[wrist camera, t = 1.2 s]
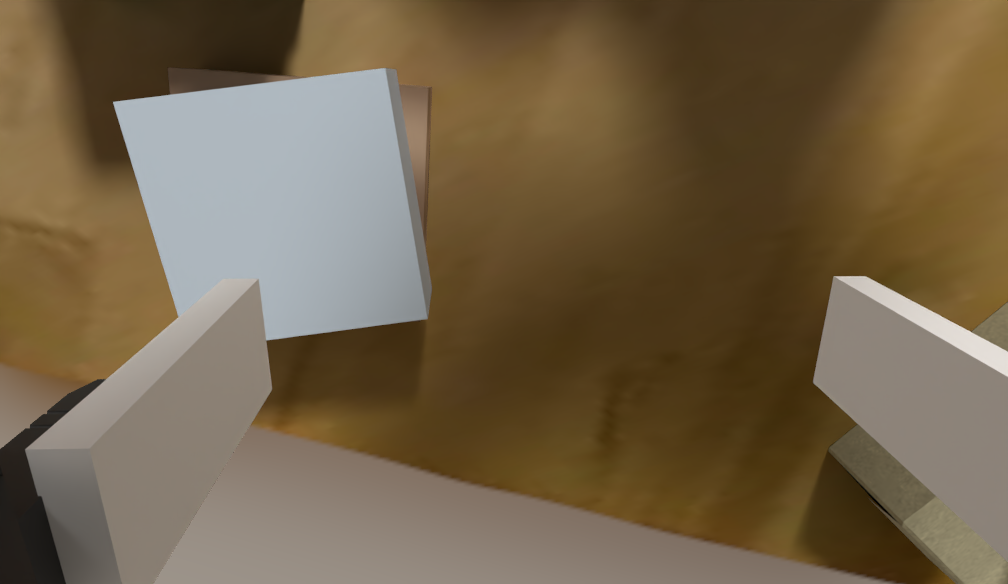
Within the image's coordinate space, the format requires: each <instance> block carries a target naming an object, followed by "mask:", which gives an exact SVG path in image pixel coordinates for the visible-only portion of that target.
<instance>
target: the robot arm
mask: <svg viewBox="0 0 1008 584" xmlns="http://www.w3.org/2000/svg"><path fill="white" fill-rule="evenodd" d="M813 383H814V384H815V385H816V386H817V387H818V388H819V389H821V390H822V391H823V392H824V393H825V394H826V395H827V396H828V397H829V398H830V399H831V400H832V401H834V402H835V403H836V404H837V405H838V406H839V407H840V408H841V409H842V410H843V411H844V412H845V413H847V414H848V415H849V416H850V417H851V418H852V419H853V420H854V421H855V422H856V423H857V424H858V425H860V426H861V427H862V428H863V429H864V430H865V431H866V432H867V433H868V434H869V435H870V436H871V437H873V438H874V439H875V440H876V441H877V442H878V443H879V444H880V445H881V446H882V447H883V448H885V449H886V450H887V451H888V452H889V453H890V454H891V455H892V456H893V457H894V458H895V459H896V460H898V461H899V462H900V463H901V464H902V465H903V466H904V467H905V468H906V469H907V470H908V471H909V472H911V473H912V474H913V475H914V476H915V477H916V478H917V479H918V480H919V481H920V482H921V483H922V484H924V485H925V486H926V487H927V488H928V489H929V490H930V491H931V492H932V493H933V494H934V495H935V496H937V497H938V498H939V499H940V500H941V501H942V502H943V503H944V504H945V505H946V506H947V507H949V508H950V509H951V510H952V511H953V512H954V513H955V514H956V515H957V516H958V517H959V518H960V519H962V520H963V521H964V522H965V523H966V524H967V525H968V526H969V527H970V528H971V529H972V530H973V531H975V532H976V533H977V534H978V535H979V536H980V537H981V538H982V539H983V540H984V541H985V542H986V543H988V544H989V545H990V546H991V547H992V548H993V549H994V550H995V551H996V552H997V553H998V554H1000V555H1001V556H1002V557H1003V558H1004V559H1005V560H1006V561H1007V562H1008V352H1007V351H1006V350H1004V349H1002V348H1000V347H998V346H996V345H994V344H992V343H990V342H989V341H987V340H985V339H983V338H981V337H979V336H977V335H975V334H974V333H972V332H970V331H968V330H966V329H964V328H962V327H960V326H958V325H957V324H955V323H953V322H951V321H949V320H947V319H945V318H943V317H941V316H940V315H938V314H936V313H934V312H932V311H930V310H928V309H926V308H925V307H923V306H921V305H919V304H917V303H915V302H913V301H911V300H909V299H908V298H906V297H904V296H902V295H900V294H898V293H896V292H894V291H892V290H891V289H889V288H887V287H885V286H883V285H881V284H879V283H877V282H875V281H874V280H872V279H870V278H868V277H866V276H834V277H833V282H832V288H831V293H830V298H829V303H828V308H827V313H826V318H825V323H824V328H823V333H822V338H821V343H820V349H819V354H818V359H817V364H816V369H815V374H814V379H813ZM271 391H272V383H271V375H270V366H269V358H268V350H267V342H266V334H265V326H264V318H263V310H262V302H261V294H260V285H259V279H222V280H221V281H220V282H219V283H218V284H217V285H216V286H214V287H213V288H212V289H211V290H210V291H209V292H207V293H206V294H205V295H204V296H203V297H202V298H200V299H199V300H198V301H197V302H196V303H195V304H193V305H192V306H191V307H190V308H189V309H188V310H186V311H185V312H184V313H183V314H182V315H181V316H180V317H178V318H177V319H176V320H175V321H174V322H173V323H171V324H170V325H169V326H168V327H167V328H166V329H164V330H163V331H162V332H161V333H160V334H159V335H157V336H156V337H155V338H154V339H153V340H152V341H150V342H149V343H148V344H147V345H146V346H145V347H143V348H142V349H141V350H140V351H139V352H138V353H137V354H135V355H134V356H133V357H132V358H131V359H130V360H128V361H127V362H126V363H125V364H124V365H123V366H121V367H120V368H119V369H118V370H117V371H116V372H114V373H113V374H112V375H111V376H110V377H109V378H107V379H98V380H96V381H94V382H92V383H90V384H88V385H85V386H84V387H81V388H79V389H77V390H75V391H73V392H71V393H69V394H67V395H66V396H65V397H64V398H62V399H61V400H60V401H59V402H58V403H56V404H55V405H54V406H53V407H52V408H50V409H49V410H48V411H47V414H43V415H42V416H40V417H39V418H38V419H37V420H35V421H34V422H33V423H32V424H31V425H30V428H29V429H24V430H23V431H22V432H21V433H20V434H18V435H17V436H16V437H15V438H14V439H12V440H11V441H10V442H9V443H7V444H6V445H5V446H4V447H2V448H1V449H0V584H153V583H154V582H155V580H156V578H157V577H158V575H159V574H160V572H161V570H162V569H163V567H164V565H165V564H166V562H167V561H168V559H169V557H170V556H171V554H172V552H173V551H174V549H175V547H176V546H177V544H178V543H179V541H180V539H181V538H182V536H183V534H184V533H185V531H186V529H187V528H188V526H189V525H190V523H191V521H192V520H193V518H194V516H195V515H196V513H197V511H198V510H199V508H200V507H201V505H202V503H203V502H204V500H205V498H206V497H207V495H208V494H209V492H210V490H211V489H212V487H213V485H214V484H215V482H216V480H217V479H218V477H219V476H220V474H221V472H222V471H223V469H224V467H225V466H226V464H227V463H228V461H229V459H230V458H231V456H232V454H233V453H234V451H235V449H236V448H237V446H238V445H239V443H240V441H241V440H242V437H243V436H244V435H245V433H246V431H247V430H248V428H249V427H250V425H251V423H252V422H253V420H254V418H255V417H256V415H257V414H258V412H259V410H260V409H261V407H262V405H263V404H264V402H265V400H266V399H267V397H268V396H269V394H270V392H271Z"/></svg>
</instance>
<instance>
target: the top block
mask: <svg viewBox="0 0 1008 584" xmlns="http://www.w3.org/2000/svg"><path fill="white" fill-rule="evenodd" d="M113 104H114V107H115V111H116V114H117V117H118V120H119V124H120V127H121V130H122V133H123V137H124V140H125V143H126V146H127V150H128V153H129V156H130V160H131V163H132V166H133V169H134V173H135V176H136V179H137V182H138V186H139V189H140V192H141V195H142V199H143V202H144V205H145V208H146V212H147V215H148V218H149V222H150V225H151V228H152V231H153V235H154V238H155V241H156V244H157V248H158V251H159V254H160V257H161V261H162V264H163V267H164V271H165V274H166V277H167V280H168V284H169V287H170V290H171V293H172V297H173V300H174V303H175V306H176V310H177V313H178V316H179V317H180V316H181V315H182V314H183V313H184V312H185V311H186V310H188V309H189V308H190V307H191V306H192V305H193V304H195V303H196V302H197V301H198V300H199V299H200V298H202V297H203V296H204V295H205V294H206V293H207V292H209V291H210V290H211V289H212V288H213V287H214V286H216V285H217V284H218V283H219V282H220V281H221V280H222V279H259V285H260V294H261V302H262V310H263V318H264V326H265V334H266V340H273V339H281V338H288V337H296V336H303V335H311V334H318V333H326V332H333V331H341V330H348V329H356V328H363V327H371V326H378V325H386V324H393V323H401V322H408V321H416V320H423V319H428V313H429V306H430V299H431V292H432V285H431V279H430V273H429V267H428V261H427V255H426V248H425V242H424V236H423V230H422V224H421V218H420V212H419V206H418V200H417V194H416V187H415V181H414V175H413V169H412V163H411V157H410V151H409V145H408V139H407V133H406V127H405V120H404V114H403V108H402V102H401V96H400V90H399V84H398V78H397V72H396V69H388V68H382V69H374V70H366V71H358V72H350V73H341V74H333V75H325V76H317V77H309V78H301V79H293V80H285V81H277V82H269V83H261V84H253V85H245V86H237V87H229V88H221V89H213V90H205V91H197V92H189V93H181V94H173V95H165V96H157V97H149V98H140V99H132V100H124V101H116V102H113Z"/></svg>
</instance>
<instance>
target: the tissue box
mask: <svg viewBox="0 0 1008 584" xmlns="http://www.w3.org/2000/svg"><path fill="white" fill-rule="evenodd" d="M972 333H974V334H975V335H977V336H979V337H981V338H983V339H985V340H987V341H989V342H990V343H992V344H994V345H996V346H998V347H1000V348H1002V349H1004V350H1006V351H1007V352H1008V302H1007V303H1006V304H1005V305H1003V306H1002V307H1001V308H1000V309H999V310H997V311H996V312H995V313H994V314H992V315H991V316H990V317H989V318H987V319H986V320H985V321H984V322H983V323H981V324H980V325H979V326H978V327H976V328H975V329H974V330H973V331H972ZM829 452H830V453H831V454H832V455H833V456H834V458H835V459H836V460H837V461H838V462H839V463H840V464H841V465H842V466H843V467H844V468H845V469H846V470H847V472H848V473H849V474H850V475H851V476H852V477H853V478H854V479H855V480H856V481H857V483H858V484H859V485H860V486H861V487H862V488H863V489H864V490H865V491H866V492H867V494H868V495H869V496H870V497H871V498H872V499H873V500H874V501H875V502H876V503H877V504H878V505H879V506H880V507H881V508H882V509H883V510H884V511H885V512H884V511H883V510H882V509H881V508H880V507H878V506H877V505H876V504H875V503H874V502H872V501H871V500H870V499H869V498H868V497H867V498H868V499H869V500H870V501H871V502H872V503H873V504H874V505H875V506H876V507H877V508H878V509H879V510H880V511H881V512H882V513H883V514H884V515H885V516H886V517H887V518H888V519H889V520H890V521H891V522H892V523H893V524H894V525H895V526H896V527H897V528H898V529H899V530H900V531H901V532H902V533H903V534H904V535H905V536H906V537H907V538H908V539H909V540H910V541H911V542H912V543H913V544H914V545H915V546H916V547H917V548H918V549H919V550H920V551H921V552H922V553H923V554H924V555H925V556H926V557H927V558H928V559H929V560H931V561H932V562H933V563H934V564H935V565H936V566H937V567H938V568H939V569H941V570H942V571H943V572H944V573H945V574H946V575H947V576H948V577H949V578H950V579H952V580H953V581H954V582H955V583H956V584H1008V562H1007V561H1006V560H1005V559H1004V558H1003V557H1002V556H1001V555H1000V554H998V553H997V552H996V551H995V550H994V549H993V548H992V547H991V546H990V545H989V544H988V543H986V542H985V541H984V540H983V539H982V538H981V537H980V536H979V535H978V534H977V533H976V532H975V531H973V530H972V529H971V528H970V527H969V526H968V525H967V524H966V523H965V522H964V521H963V520H962V519H960V518H959V517H958V516H957V515H956V514H955V513H954V512H953V511H952V510H951V509H950V508H949V507H947V506H946V505H945V504H944V503H943V502H942V501H941V500H940V499H939V498H938V497H937V496H935V495H934V494H933V493H932V492H931V491H930V490H929V489H928V488H927V487H926V486H925V485H924V484H922V483H921V482H920V481H919V480H918V479H917V478H916V477H915V476H914V475H913V474H912V473H911V472H909V471H908V470H907V469H906V468H905V467H904V466H903V465H902V464H901V463H900V462H899V461H898V460H896V459H895V458H894V457H893V456H892V455H891V454H890V453H889V452H888V451H887V450H886V449H885V448H883V447H882V446H881V445H880V444H879V443H878V442H877V441H876V440H875V439H874V438H873V437H871V436H870V435H869V434H868V433H867V432H866V431H865V430H864V429H863V428H862V427H861V426H860V425H858V424H857V425H856V426H855V427H854V428H852V429H851V430H850V431H849V432H847V433H846V434H845V435H844V436H843V437H841V438H840V439H839V440H838V441H836V442H835V443H834V444H833V445H832V446H830V447H829Z"/></svg>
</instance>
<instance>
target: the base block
mask: <svg viewBox="0 0 1008 584" xmlns="http://www.w3.org/2000/svg"><path fill="white" fill-rule="evenodd" d="M168 78H169V89H170V95H173V94H181V93H189V92H197V91H205V90H213V89H221V88H229V87H237V86H245V85H253V84H261V83H269V82H277V81H285V80H293V79H301V78H309V77H301V76H288V75H275V74H262V73H249V72H236V71H223V70H210V69H193V68H169V67H168ZM399 90H400V96H401V102H402V108H403V114H404V120H405V127H406V133H407V139H408V145H409V151H410V157H411V163H412V169H413V175H414V181H415V187H416V194H417V200H418V206H419V212H420V218H421V224H422V230H423V236H424V242H425V248H426V237H427V210H428V183H429V156H430V130H431V103H432V87H430V86H417V85H404V84H399ZM416 321H420V320H416Z"/></svg>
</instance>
